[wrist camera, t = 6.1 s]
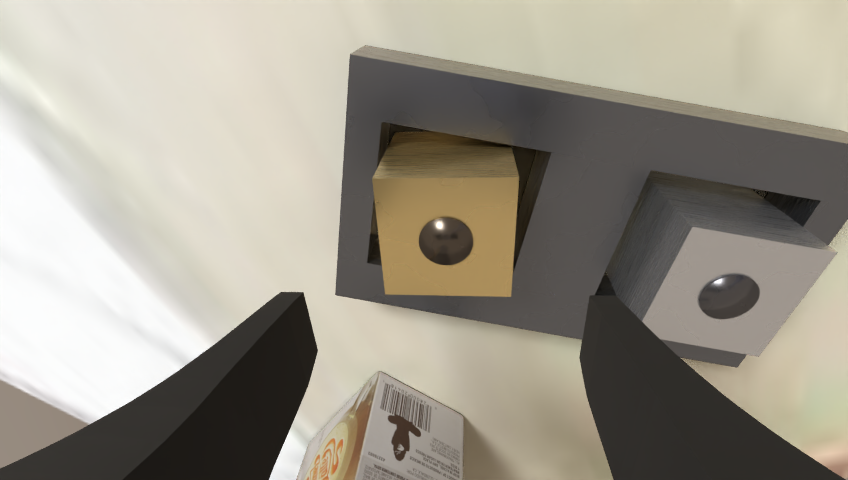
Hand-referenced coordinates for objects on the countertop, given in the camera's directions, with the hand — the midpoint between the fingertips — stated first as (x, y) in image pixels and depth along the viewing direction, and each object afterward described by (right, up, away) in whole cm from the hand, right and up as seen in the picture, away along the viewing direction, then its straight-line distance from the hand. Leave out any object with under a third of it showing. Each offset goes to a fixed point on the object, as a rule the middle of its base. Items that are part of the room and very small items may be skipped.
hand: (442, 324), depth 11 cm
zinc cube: (+10, +3, +8) cm, 13 cm away
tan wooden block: (+1, +5, +8) cm, 9 cm away
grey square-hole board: (+5, +4, +8) cm, 10 cm away
